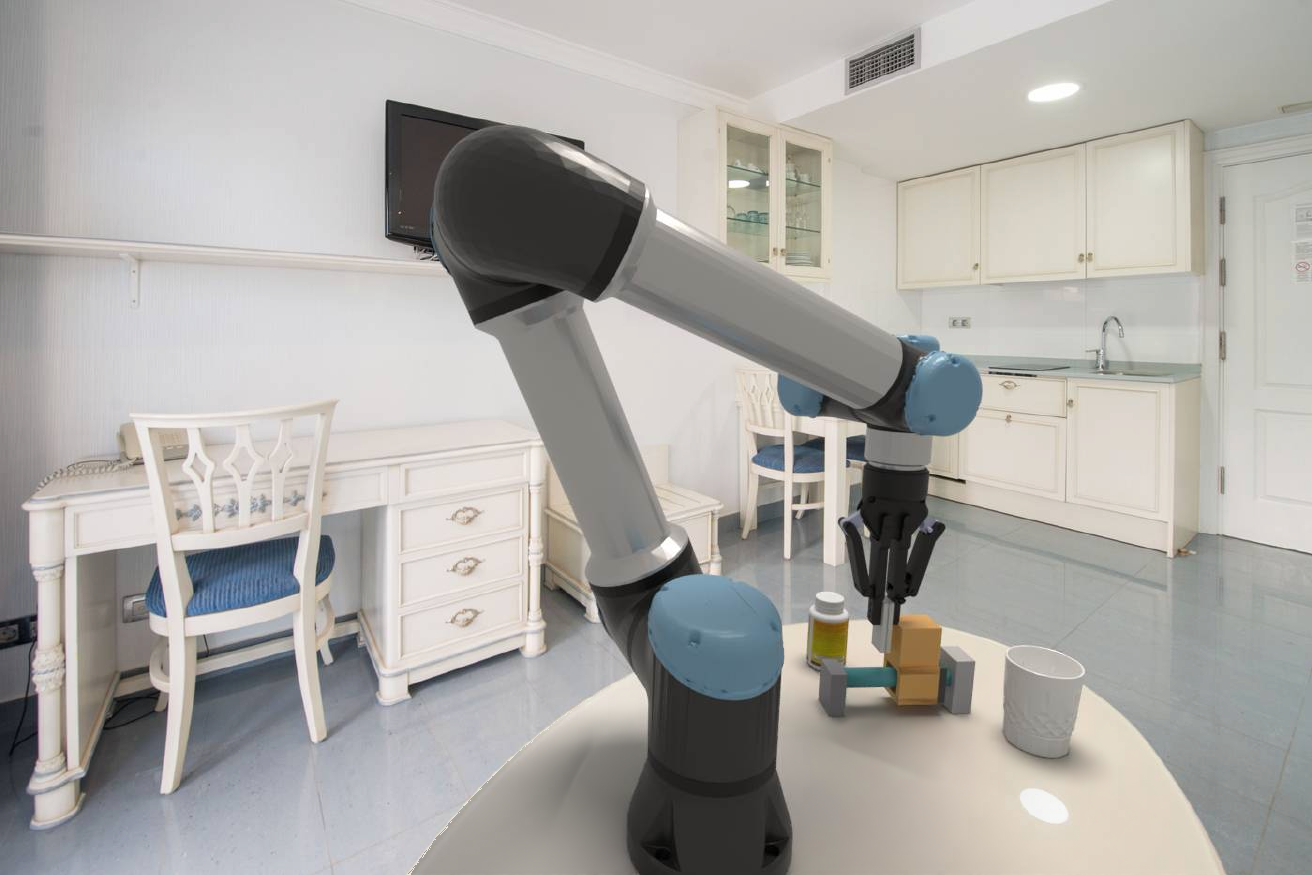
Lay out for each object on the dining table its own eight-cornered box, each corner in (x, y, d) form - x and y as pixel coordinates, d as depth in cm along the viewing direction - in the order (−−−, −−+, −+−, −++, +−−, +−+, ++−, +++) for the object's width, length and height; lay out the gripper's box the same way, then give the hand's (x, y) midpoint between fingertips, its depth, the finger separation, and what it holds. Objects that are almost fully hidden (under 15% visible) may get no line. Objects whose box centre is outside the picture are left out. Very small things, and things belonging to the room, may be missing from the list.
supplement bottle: (853, 672, 90) (857, 603, 89) (816, 675, 89) (820, 605, 88) (834, 653, 96) (838, 588, 94) (799, 656, 94) (803, 590, 93)
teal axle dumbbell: (829, 717, 79) (833, 664, 78) (817, 697, 83) (821, 646, 82) (971, 714, 80) (976, 662, 79) (952, 694, 85) (956, 645, 84)
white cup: (1087, 766, 71) (1098, 682, 69) (1009, 756, 72) (1019, 673, 71) (1058, 725, 78) (1067, 649, 77) (988, 717, 80) (996, 641, 78)
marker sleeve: (897, 704, 79) (904, 630, 78) (881, 684, 84) (887, 613, 83) (936, 704, 80) (943, 629, 78) (918, 683, 84) (924, 613, 83)
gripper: (932, 459, 81) (915, 634, 85) (833, 457, 80) (821, 634, 84) (964, 470, 74) (944, 662, 77) (856, 469, 73) (841, 663, 76)
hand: (880, 647), depth 81 cm, fingers closed
